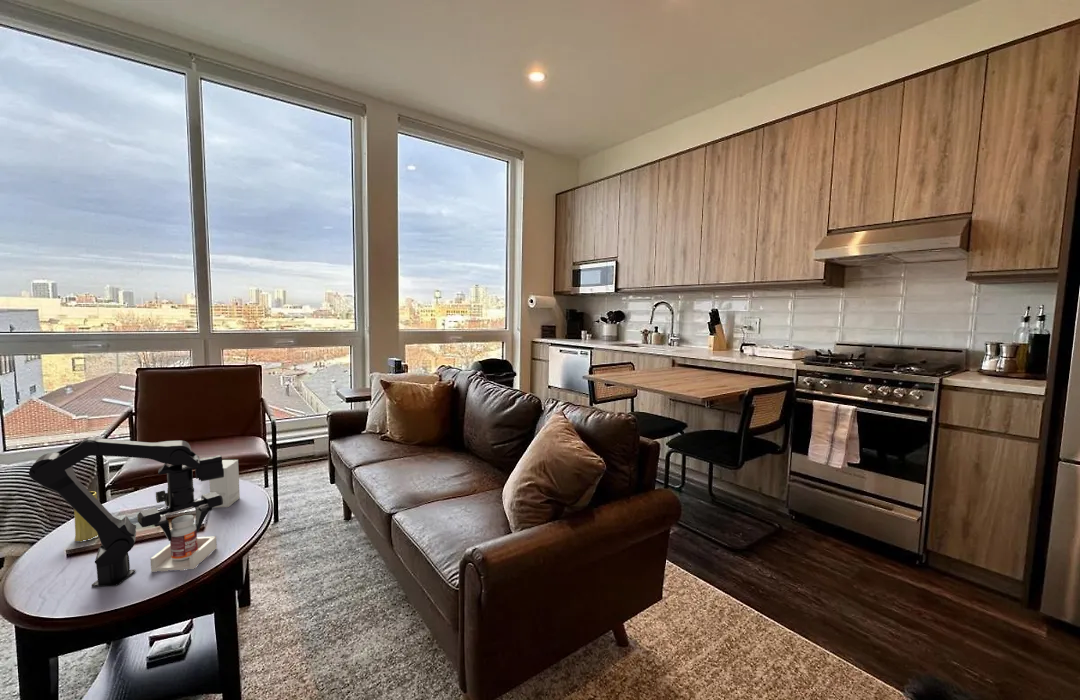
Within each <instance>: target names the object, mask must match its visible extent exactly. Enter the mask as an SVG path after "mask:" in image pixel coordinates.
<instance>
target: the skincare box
mask: <svg viewBox="0 0 1080 700" xmlns="http://www.w3.org/2000/svg"><path fill="white" fill-rule="evenodd" d="M222 464H223V468H224V477H223V478H218V479H212V480H208V481H209V493H211V492H217V493H218V494H220V495H221V496H222V498H223V504H222V505H219V506H216V507H212V509H215V508H216V509H217V508H219V509H220V508H229V507H230V506H232V505H233V504H234V503H235V502H236V501H238V500H239V499H240V497H241V495H240V494H241V491H240V475H239V474H240V473H239V472H240V471H239V459H222Z"/></svg>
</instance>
